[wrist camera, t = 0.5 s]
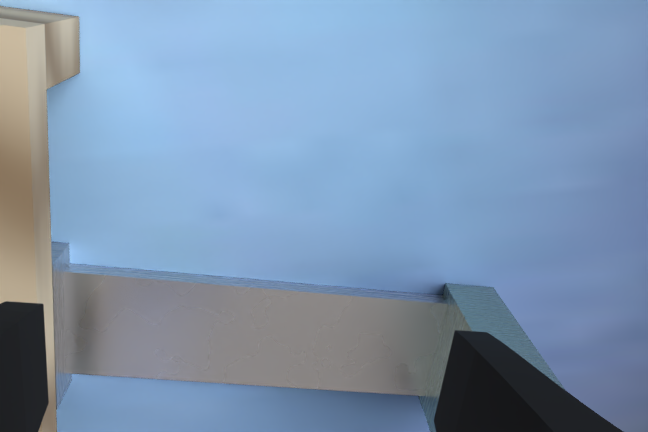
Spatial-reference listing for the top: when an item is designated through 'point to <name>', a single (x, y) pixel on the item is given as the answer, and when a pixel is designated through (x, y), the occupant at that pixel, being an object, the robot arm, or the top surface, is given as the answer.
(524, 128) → the top surface
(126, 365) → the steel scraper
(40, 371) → the robot arm
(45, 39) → the oak shelf
